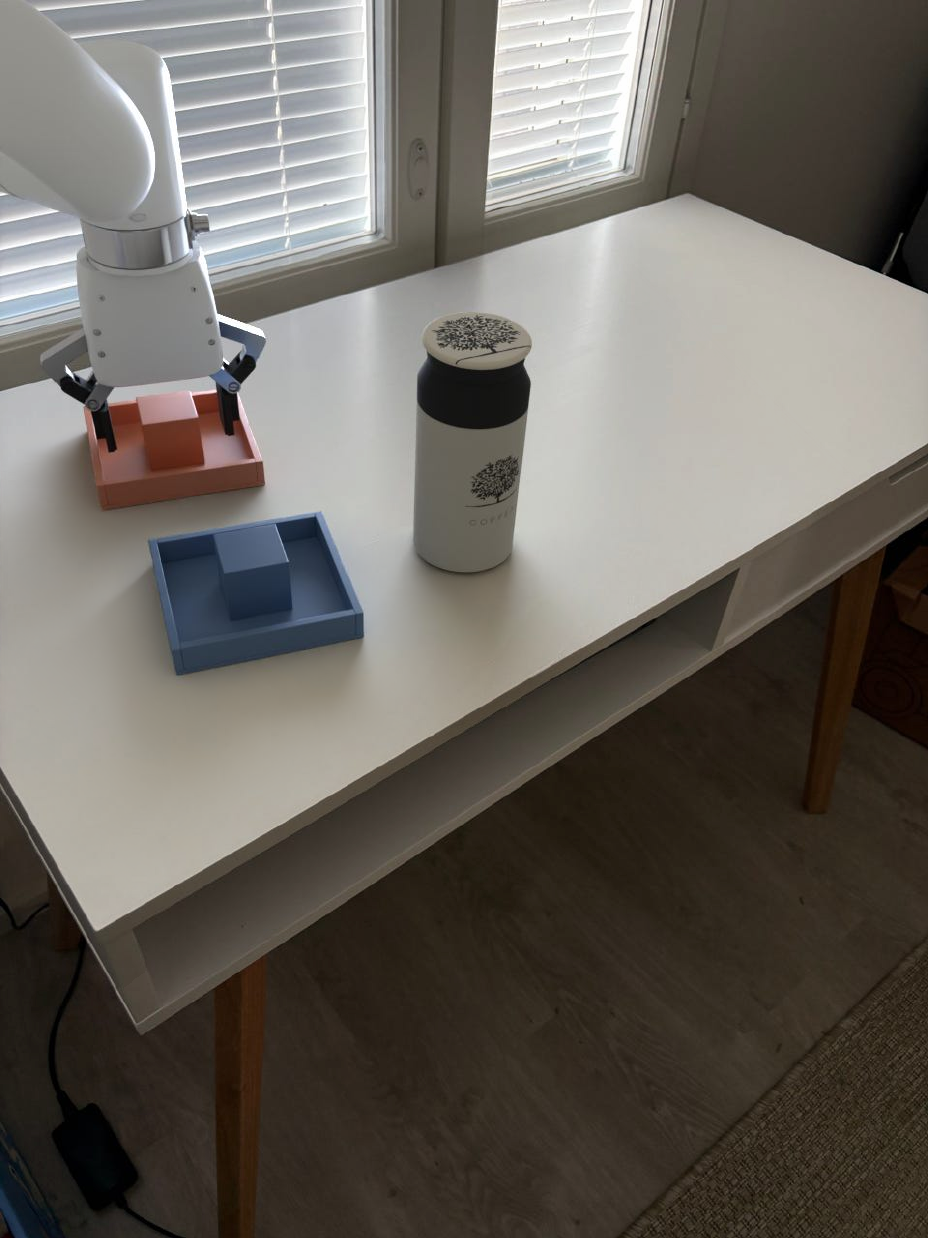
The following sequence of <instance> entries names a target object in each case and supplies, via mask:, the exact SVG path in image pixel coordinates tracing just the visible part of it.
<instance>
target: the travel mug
mask: <svg viewBox="0 0 928 1238" xmlns="http://www.w3.org/2000/svg"><path fill="white" fill-rule="evenodd" d="M421 342H422V346H423V347H424V349H425V350H426V356H427V357H426V359H425V361H424V362H423V364H422V365H421V367H420V368H419V370H418V371H417V375H416V408H415V410H416V411H415V412H416V413H415V444H414V445H415V446H414V447H415V449H414V478H413V479H414V483H413V484H414V485H413V516H412V517H413V519H412V520H413V521H412V522H413V523H412V544H413V547H414V549H415V550H416V552H417V553H418V555H420V557H421V558H422V559H423V560H424V561H426V562H427V563H430V565H432V566H435V567H437V568H439V569H442V570H445V571H450V572H456V573H476V572H482V571H486V570H489V569H492V568H495V567H496V566H498V565H500V564H502V563H503V562H504V561H505V560H506V559H507V558H508V557H509V556H510V554H511V552H512V550H513V544H514V537H515V536H514V535H515V529H516V528H515V527H516V520H517V519H516V517H517V512H518V511H517V510H518V499H519V493H520V484H521V475H522V467H523V466H522V465H523V457H524V450H525V441H526V440H525V439H526V430H527V423H528V422H527V421H528V414H529V413H528V412H529V405H530V397H531V396H530V395H531V386H532V382H531V378H530V376H529V374H528V370H527V369H526V367H525V365H524V364H525V360H526V357H528V355H529V354H530V352H531V350H532V347H533V340H532V337H531V335H530V333H529V332H528V330H527V329H526V328H524V326H522V325H520V324H519V323H518V322H516V321H514V320H512V319H510V318H507V317H504V316H502V315H498V314H493V313H489V312H479V311H463V312H461V311H460V312H455V313H449V314H446V315H443V316H440V317H438V318H435V319H434V320H431V322H430V323H428V324H427V325H426V327H424V329H423V331H422V334H421Z"/></svg>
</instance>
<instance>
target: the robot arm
mask: <svg viewBox="0 0 928 1238" xmlns="http://www.w3.org/2000/svg"><path fill="white" fill-rule="evenodd" d="M0 193H3V194H6V195H9V196H12V197H15V198H18V199H20V200H25V201H28V202H31V203H34V204H36V205H39V206H42V207H46V208H49V209H52V210H54V211H58V212H61V213H63V214H66V215H69V216H71V217H74V218H78V219H79V222H80V227H81V232H82V233H81V234H82V237H83V242H84V246H83V247H82V248H80V249H79V250H78V251H77V253H76V285H77V286H76V287H77V296H78V303H79V308H80V315H81V321H82V328H80V329H79V330H77V331H76V332H74V333H72V334H71V335H69V336H67V337H65V338H64V339H62V340H61V341H59V342H58V343H56V344H54V345H53V346H51V347H50V348H48V349H47V350H45V351H44V352H42V353H41V354H40V358H39V359H40V366H41V368H42V370H43V371H44V372H45V374H47V375H48V376H49V377H50V378H51V380H52V381H53V382H54V383H56V384H57V386H59V388H60V390H61V391H62V392H63V394H66V395H68V396H69V397H71V398H73V399H74V400H76V401H78V402H79V403H80V404H83V405H84V406H85V407H86V408H87V409H88V410H89V411H91V415H92V420H93V424H94V429H95V433H96V438H97V439H104V438H106V443H107V447H108V452H109V453H110V452H115V450H117V446H116V441H115V436H114V431H113V426H112V421H111V416H110V412H109V407H108V403H109V402H108V398H109V397H110V395H111V394H112V392H113V391H114V389H115V388H128V387H129V388H130V387H136V386H137V387H138V386H145V385H155V384H163V383H169V382H178V381H179V382H180V381H187V380H194V379H202V378H205V377H209V378H210V379H212V380H213V381H214V383H215V388H216V389H215V390H217V398H218V406H219V414H220V420H221V423H222V426H223V429H224V432H225V435H228V436H233V435H234V427H233V421H238V420H240V416H239V406H238V397H237V392H238V393H239V392H240V391H241V388H242V384H243V383H244V382H245V381H246V380H247V378H248V377H249V376H250V375H251V374H252V373H253V372H254V371H255V369H256V368H257V362H258V359H260V357H261V355H262V353H263V351H264V348H265V346H266V343H267V339H266V336H265V334H264V332H263V330H261V329H260V328H257V327H255V326H252V325H249V324H246V323H244V322H240V321H238V320H235V319H232V318H230V317H226V316H223V315H221V314H218V311H217V308H216V307H217V306H216V302H215V301H216V300H215V297H214V296H215V295H214V292H213V287H212V283H211V280H210V276H209V271H208V266H207V263H206V259H205V256H204V253H203V250H202V247H201V245H200V243H198V241H196V237H200V236H201V235H203V234H210V233H211V229H210V228H211V227H210V221H209V216H208V214H207V213H206V214H205V213H203V214H198V213H197V212H192V211H191V209H190V208H187V201H186V200H187V199H186V193H185V184H184V177H183V170H182V162H181V154H180V147H179V137H178V130H177V121H176V115H175V106H174V98H173V90H172V84H171V78H170V73H169V70H168V67H167V65H166V62H165V61H164V58H163V57H162V56H161V55H160V54H159V53H158V52H157V51H155V49H153V48H151V47H150V46H148V45H145V44H141V43H139V42H134V41H131V40H130V41H129V40H121V39H94V40H93V39H92V40H85V41H80V42H76V41H75V40H74V39H73V38H72V37H71V35H69V34H68V33H66V31H64V30H63V29H62V27H60V26H59V25H57V24H56V23H55V22H54V21H53V20H51V19H50V18H49V17H48V16H46V15H45V14H44V13H42V12H41V10H39V9H37V7H35V6H33V5H32V4H31V3H29V2H28V1H26V0H0ZM222 338H223V339H227V340H230V341H233V342H235V343H237V344H241V345H242V347H241V350H240V351H239V352H238V353H237V354H236V356H234V357H233V358H232V360H231V361H230V362H228V361H227V360H226V359H225V358H224V350H223V343H222V342H223V341H222ZM86 353H88V358H89V362H90V365H91V369H92V371H91V372H90V373H89V375H88V376H87V378H86V379H85V378H83V377H82V376H80V375H78V374H77V373H75V372H73V371H72V370H70V369H69V368H68V366H67V365H68V364H69V363H72V361H74V360H76V359H77V358H79V357H81V356H83V355H84V354H86Z"/></svg>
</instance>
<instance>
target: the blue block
mask: <svg viewBox="0 0 928 1238" xmlns="http://www.w3.org/2000/svg"><path fill="white" fill-rule="evenodd" d="M213 538H214V545H215V552H216V559H217V565H218V572H219V579H220V584H221V588H222V591H223V595H224V598H225V602H226V606H227V609H228V613H229V617H230V620H231V621H234V620H239V619H244V618H249V617H254V616H260V615H265V614H270V613H275V612H280V611H285V610H291V609H293V606H292V594H291V582H290V569H289V561H288V558H287V555H286V553H285V550H284V547H283V544H282V541H281V539H280V536H279V533H278V530H277V527H276V525H275V524H273V525H267V526H261V527H255V528H249V529H243V530H237V531H231V532H225V533H219V534H214V535H213Z"/></svg>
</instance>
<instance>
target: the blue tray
mask: <svg viewBox="0 0 928 1238" xmlns="http://www.w3.org/2000/svg"><path fill="white" fill-rule="evenodd" d="M327 523H328V522H327V521H326V519H325V516H324V514H323V512H322V511H321V510H320V511H314V512H307V513H301V514H295V515H289V516H284V517H278V518H277V517H276V518H272V519H265V520H259V521H253V522H248V523H241V524H235V525H229V526H222V527H217V528H212V529H205V530H200V531H193V532H187V533H181V534H176V535H170V536H163V537H157V538H151V539H148V541H147V543H148V547H149V552H150V553H149V554H150V557H151V560H152V561H151V563H152V568H153V572H154V577H155V580H156V587H157V591H158V595H159V601H160V605H161V609H162V615H163V620H164V624H165V629H166V633H167V634H166V635H167V640H168V643H169V647H170V648H169V649H170V654H171V658H172V663H173V667H174V672H175V676H180V675H185V674H190V673H195V672H201V671H205V670H210V669H215V668H219V667H225V666H229V665H234V664H240V663H245V662H249V661H254V660H259V659H264V658H270V657H273V656H279V655H283V654H288V653H289V654H290V653H294V652H298V651H299V652H300V651H304V650H307V649H308V650H309V649H313V648H317V647H318V648H319V647H322V646H327V645H328V646H329V645H333V644H337V643H342V642H347V641H352V640H357V639H362V638H364V637H365V624H364V623H365V622H364V621H365V620H364V619H365V618H364V611H363V608H362V606H361V603H360V601H359V599H358V597H357V594H356V591H355V588H354V587H353V584H352V581H351V579H350V577H349V574H348V572H347V570H346V567H345V564H344V562H343V560H342V556H341V555H340V552H339V550H338V548H337V545H336V543H335V540H334V538H333V535H332V533H331V530H330V529H329V526H328V524H327ZM273 524H275V525H276V527H277V530H278V533H279V536H280V539H281V541H282V544H283V547H284V550H285V553H286V555H287V558H288V561H289V569H290V582H291V594H292V606H293V609H291V610H285V611H280V612H275V613H270V614H265V615H260V616H254V617H249V618H244V619H239V620H234V621H231V620H230V617H229V613H228V609H227V606H226V602H225V598H224V595H223V591H222V588H221V584H220V579H219V572H218V565H217V559H216V552H215V545H214V538H213V535H214V534H219V533H225V532H231V531H237V530H243V529H249V528H255V527H261V526H267V525H273Z"/></svg>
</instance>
